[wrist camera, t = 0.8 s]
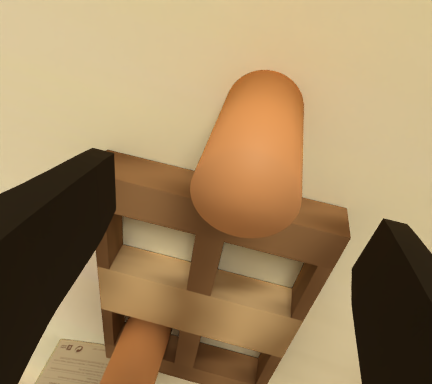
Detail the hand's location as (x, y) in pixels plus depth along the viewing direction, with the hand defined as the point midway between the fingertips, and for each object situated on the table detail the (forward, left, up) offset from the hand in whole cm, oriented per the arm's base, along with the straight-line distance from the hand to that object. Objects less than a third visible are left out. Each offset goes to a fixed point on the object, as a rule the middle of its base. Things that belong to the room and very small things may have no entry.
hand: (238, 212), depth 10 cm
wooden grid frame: (+1, +13, -7) cm, 15 cm away
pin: (+4, +18, -7) cm, 19 cm away
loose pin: (0, 0, -7) cm, 7 cm away
